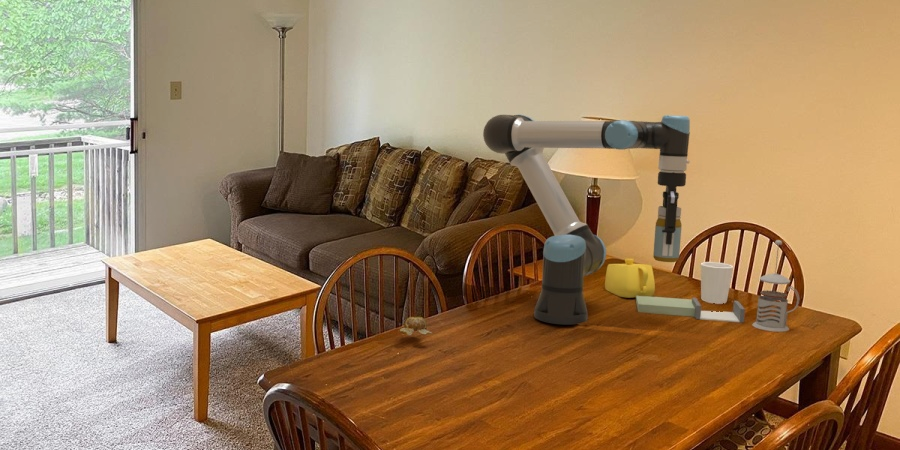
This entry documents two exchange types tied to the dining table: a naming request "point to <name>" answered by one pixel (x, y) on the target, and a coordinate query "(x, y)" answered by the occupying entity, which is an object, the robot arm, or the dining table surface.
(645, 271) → the teapot
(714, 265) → the cup
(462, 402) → the dining table surface
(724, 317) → the green bar on base
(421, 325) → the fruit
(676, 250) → the bottle
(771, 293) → the french press
